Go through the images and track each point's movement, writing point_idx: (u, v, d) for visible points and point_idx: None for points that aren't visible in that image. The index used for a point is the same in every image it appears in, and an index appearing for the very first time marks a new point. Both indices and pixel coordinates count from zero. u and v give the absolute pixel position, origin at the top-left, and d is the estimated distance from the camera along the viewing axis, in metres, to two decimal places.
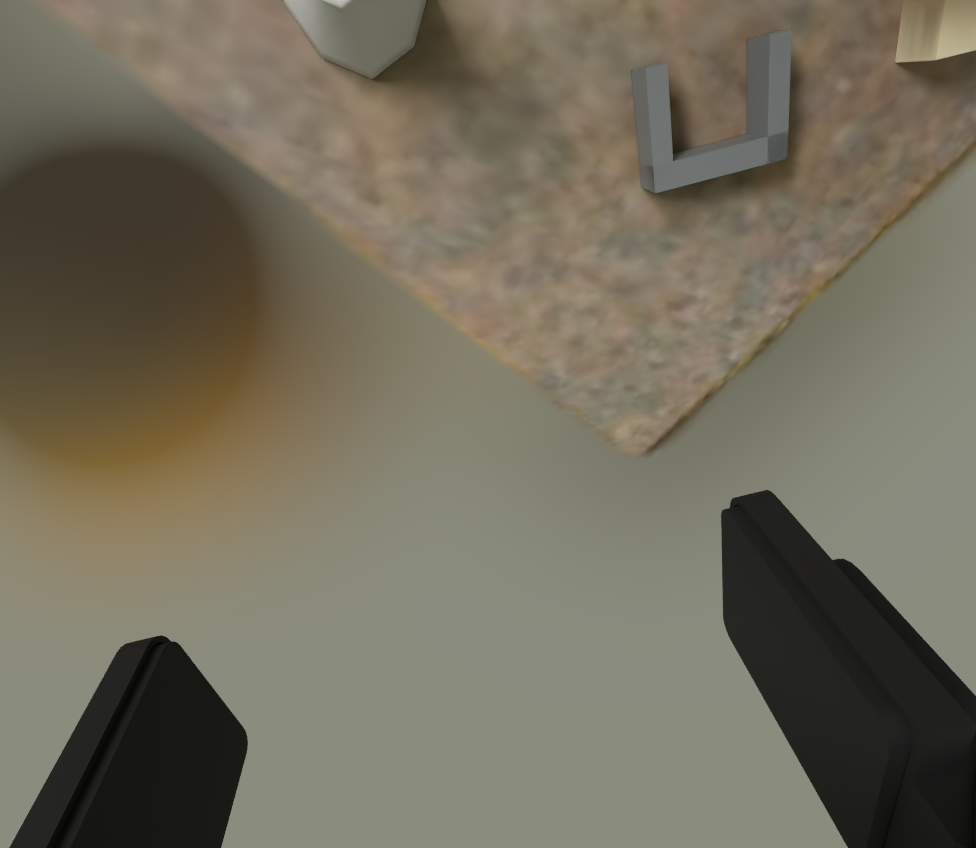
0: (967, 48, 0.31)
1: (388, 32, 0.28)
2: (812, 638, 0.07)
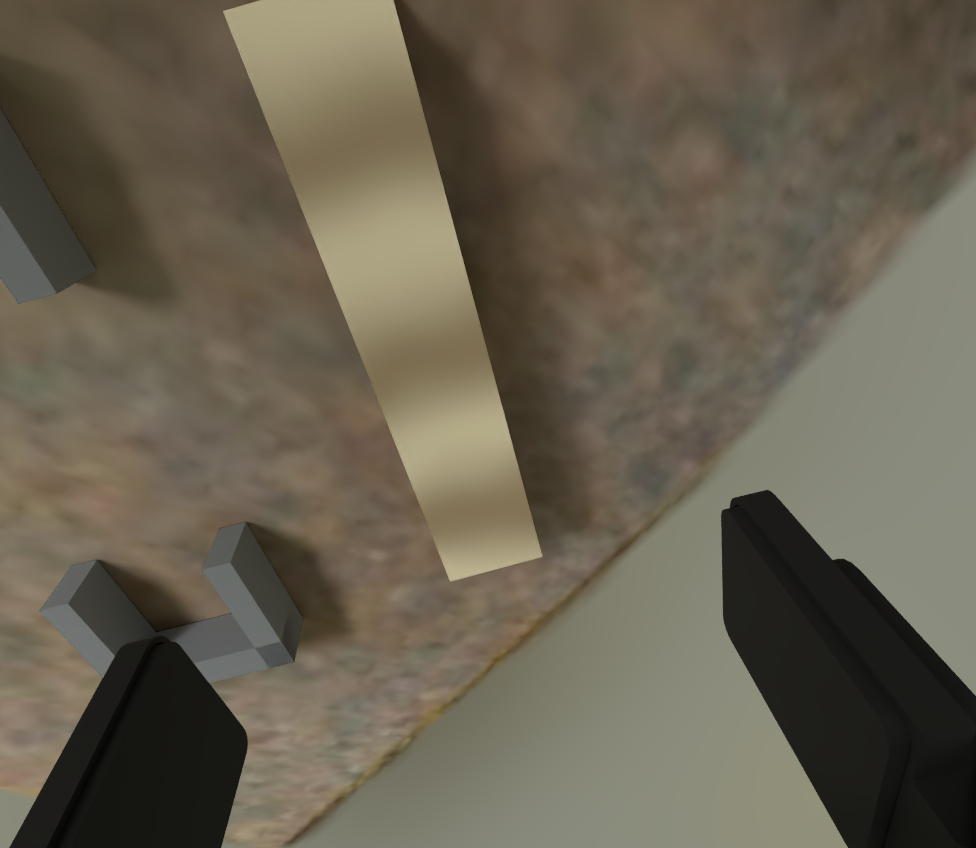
0: (488, 567, 0.24)
1: None
2: (812, 638, 0.07)
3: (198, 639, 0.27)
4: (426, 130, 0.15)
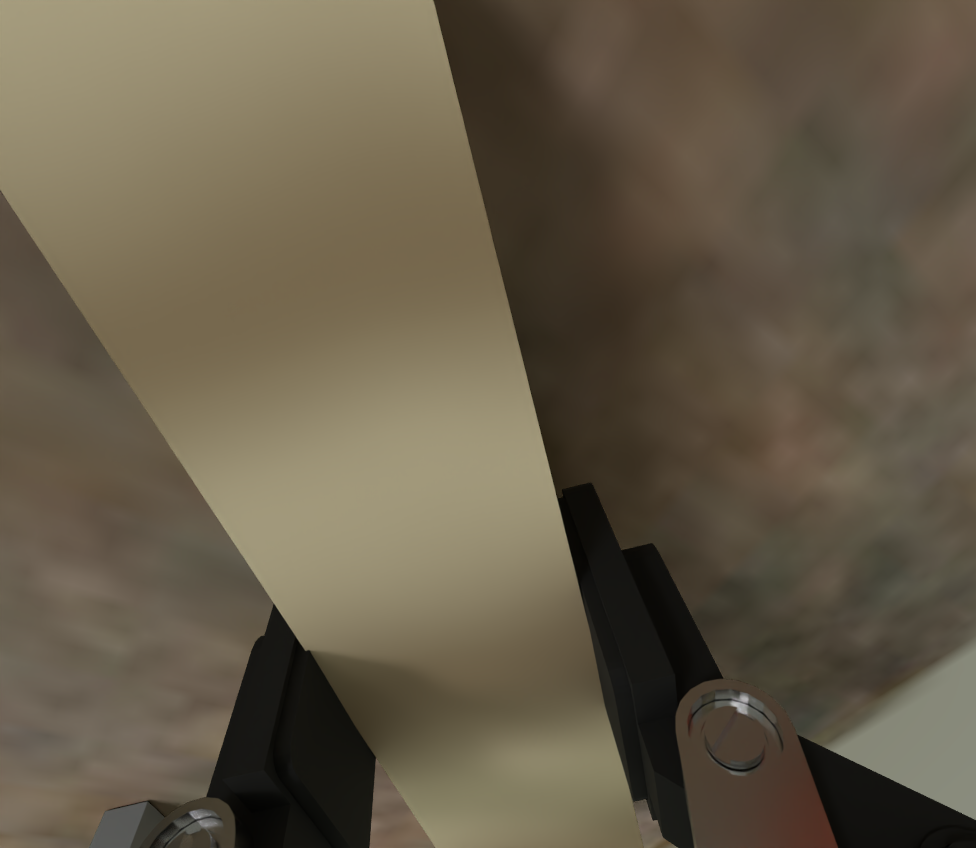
0: None
1: None
2: (587, 608, 0.08)
3: None
4: (487, 240, 0.06)
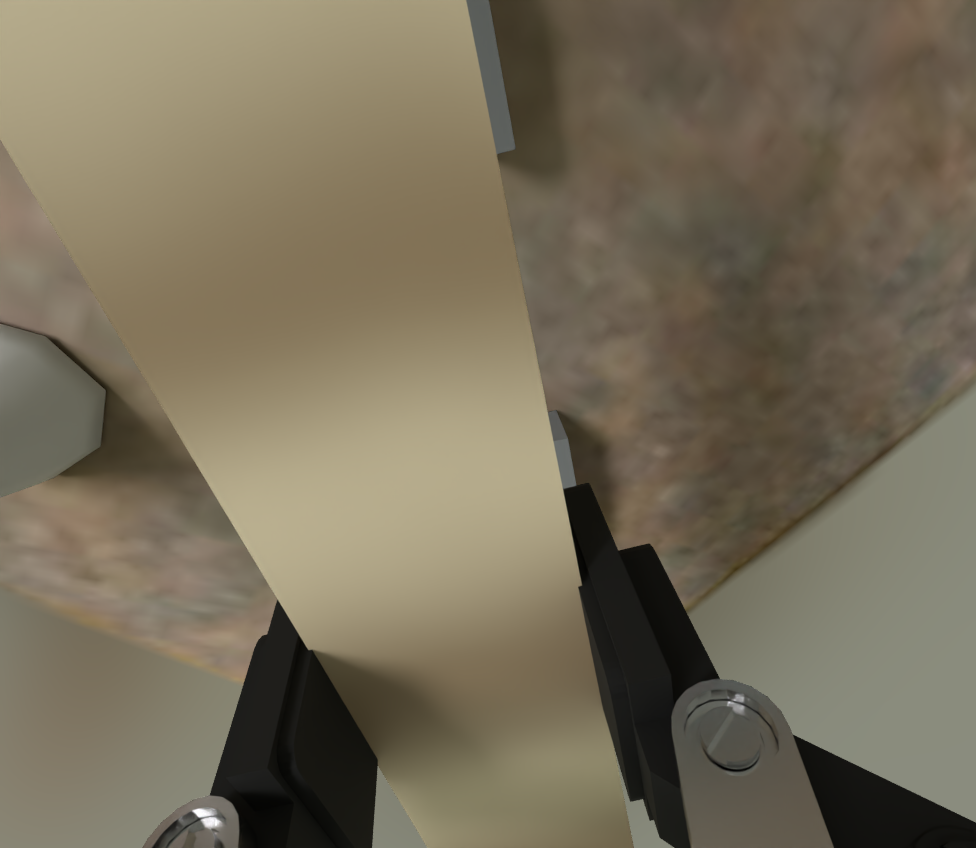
0: None
1: (29, 476, 0.22)
2: (584, 608, 0.08)
3: None
4: (508, 240, 0.06)
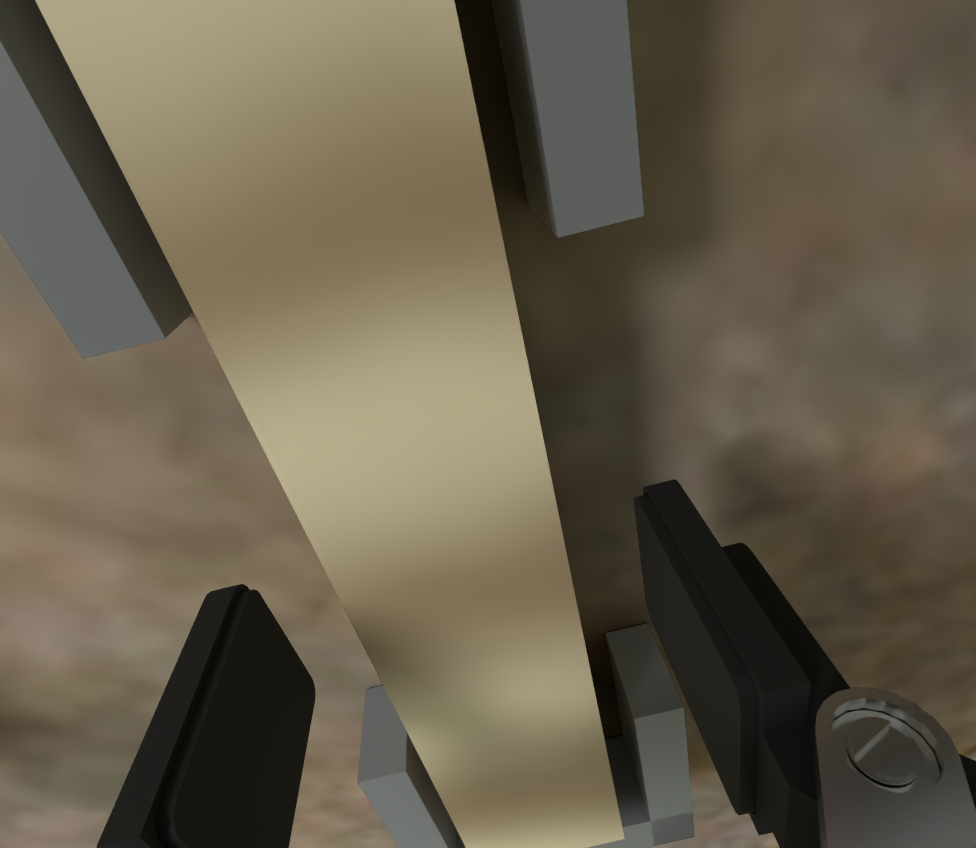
0: None
1: None
2: (692, 611, 0.08)
3: None
4: (491, 203, 0.07)
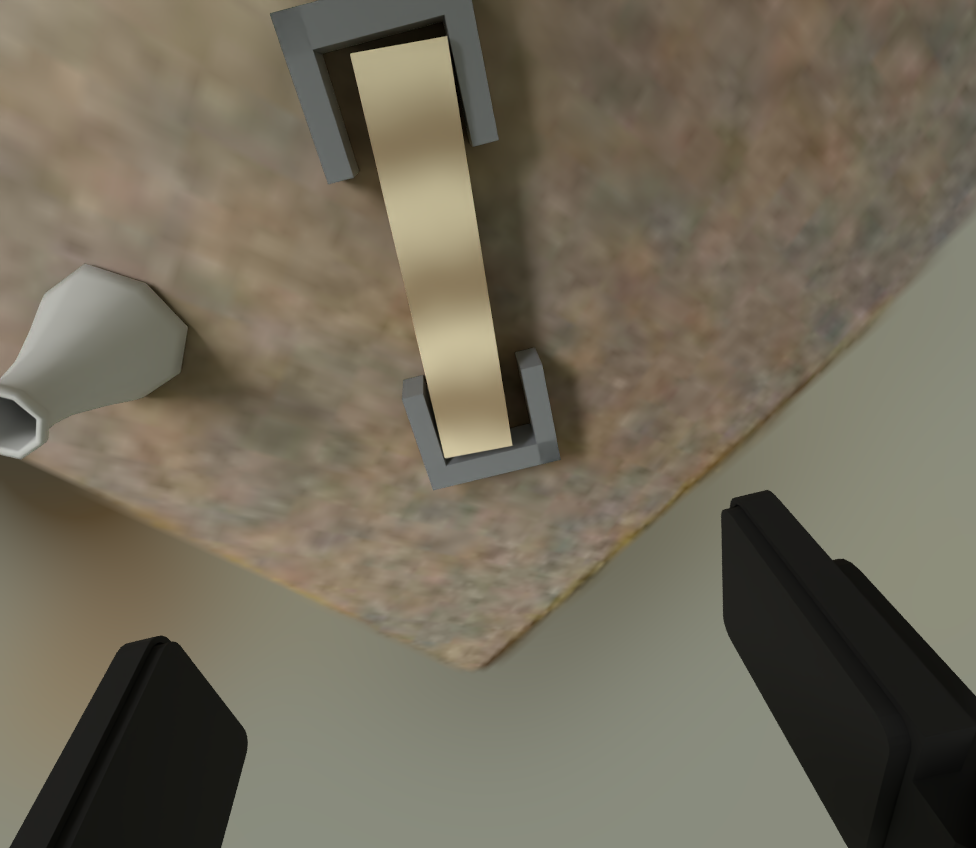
0: (473, 450, 0.33)
1: (134, 388, 0.29)
2: (812, 638, 0.07)
3: None
4: (461, 134, 0.25)
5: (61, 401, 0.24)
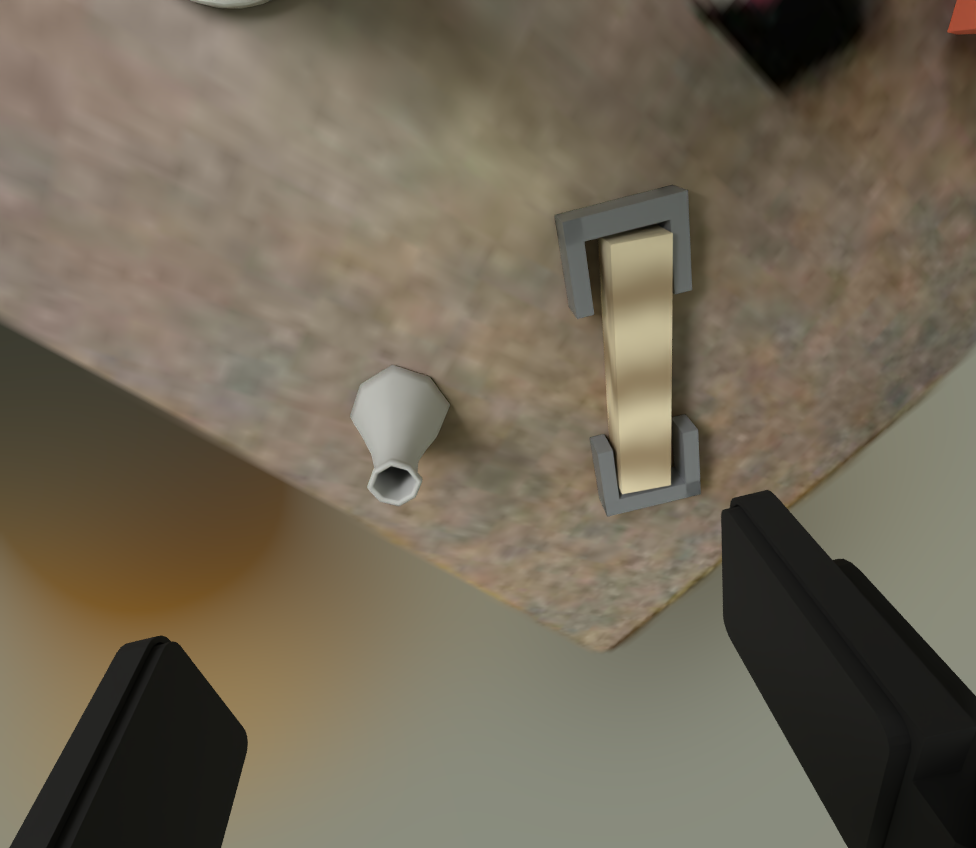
0: (643, 488, 0.46)
1: None
2: (812, 638, 0.07)
3: None
4: (671, 289, 0.38)
5: (415, 467, 0.37)
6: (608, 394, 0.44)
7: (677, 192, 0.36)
